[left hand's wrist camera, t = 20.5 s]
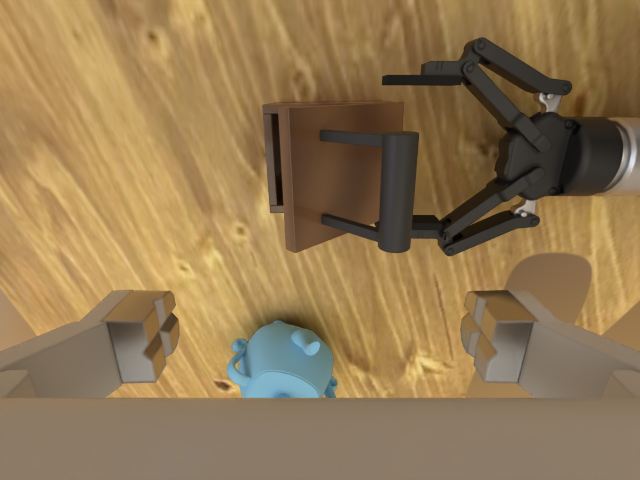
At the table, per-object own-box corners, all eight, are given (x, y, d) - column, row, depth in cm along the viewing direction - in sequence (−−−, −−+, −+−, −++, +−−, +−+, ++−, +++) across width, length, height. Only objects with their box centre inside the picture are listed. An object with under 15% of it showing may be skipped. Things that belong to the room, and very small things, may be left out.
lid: (285, 249, 27) (377, 288, 21) (277, 107, 24) (384, 109, 18) (387, 211, 35) (473, 232, 30) (393, 102, 32) (492, 102, 26)
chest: (279, 191, 44) (269, 213, 36) (274, 102, 40) (262, 104, 32) (378, 189, 44) (391, 211, 36) (381, 100, 40) (397, 102, 32)
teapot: (258, 386, 55) (246, 456, 45) (226, 310, 49) (204, 371, 39) (340, 370, 54) (346, 438, 44) (317, 290, 48) (319, 347, 38)
